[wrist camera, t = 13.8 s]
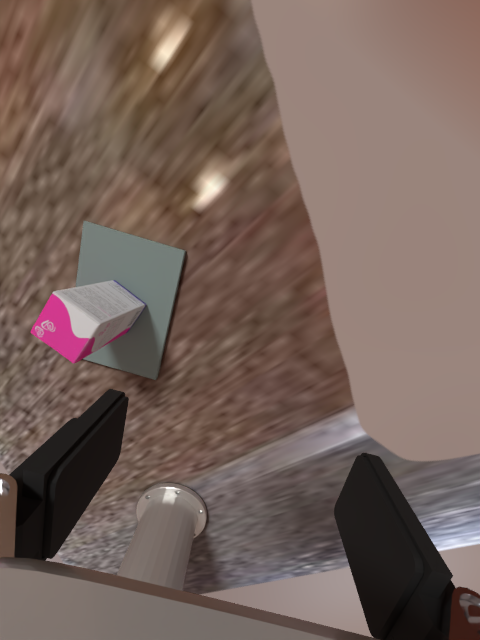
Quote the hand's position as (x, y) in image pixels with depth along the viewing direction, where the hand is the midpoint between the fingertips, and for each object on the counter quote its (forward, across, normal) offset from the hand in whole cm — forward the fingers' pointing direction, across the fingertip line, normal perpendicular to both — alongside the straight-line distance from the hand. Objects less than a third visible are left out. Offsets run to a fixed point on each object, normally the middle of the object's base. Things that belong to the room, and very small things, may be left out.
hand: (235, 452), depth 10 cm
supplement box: (+28, +18, +4) cm, 33 cm away
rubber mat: (+28, +18, +4) cm, 34 cm away
